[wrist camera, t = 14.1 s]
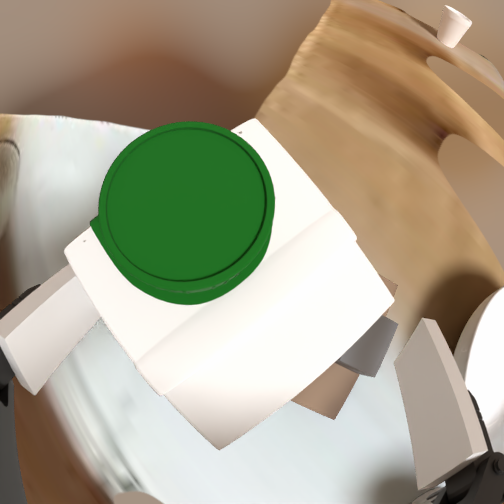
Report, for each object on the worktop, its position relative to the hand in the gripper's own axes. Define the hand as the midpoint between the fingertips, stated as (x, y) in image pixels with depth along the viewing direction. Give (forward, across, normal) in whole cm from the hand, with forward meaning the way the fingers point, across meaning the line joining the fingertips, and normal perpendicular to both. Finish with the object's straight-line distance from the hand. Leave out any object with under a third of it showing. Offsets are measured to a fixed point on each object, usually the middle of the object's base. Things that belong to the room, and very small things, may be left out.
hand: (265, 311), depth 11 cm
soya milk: (+12, -4, -8) cm, 15 cm away
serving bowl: (+11, +30, -12) cm, 34 cm away
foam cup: (+74, +38, +51) cm, 98 cm away
